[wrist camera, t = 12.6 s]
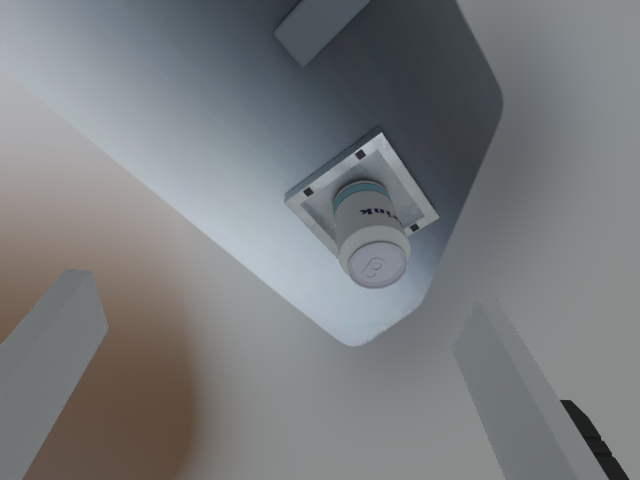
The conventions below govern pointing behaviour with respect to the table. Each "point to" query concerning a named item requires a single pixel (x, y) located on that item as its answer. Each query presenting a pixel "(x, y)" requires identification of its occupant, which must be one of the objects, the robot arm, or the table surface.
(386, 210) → the beverage can
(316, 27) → the bracket
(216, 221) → the table surface
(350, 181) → the rail plate
